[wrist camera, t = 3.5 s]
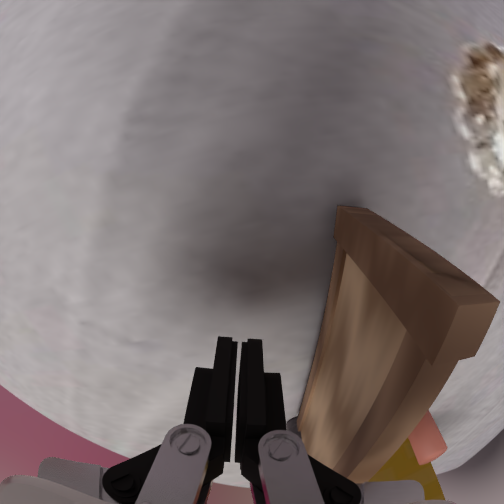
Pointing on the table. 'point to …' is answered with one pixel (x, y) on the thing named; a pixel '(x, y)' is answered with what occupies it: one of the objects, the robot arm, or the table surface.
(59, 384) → the table surface
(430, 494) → the book
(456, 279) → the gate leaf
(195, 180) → the table surface
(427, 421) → the post
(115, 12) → the table surface
